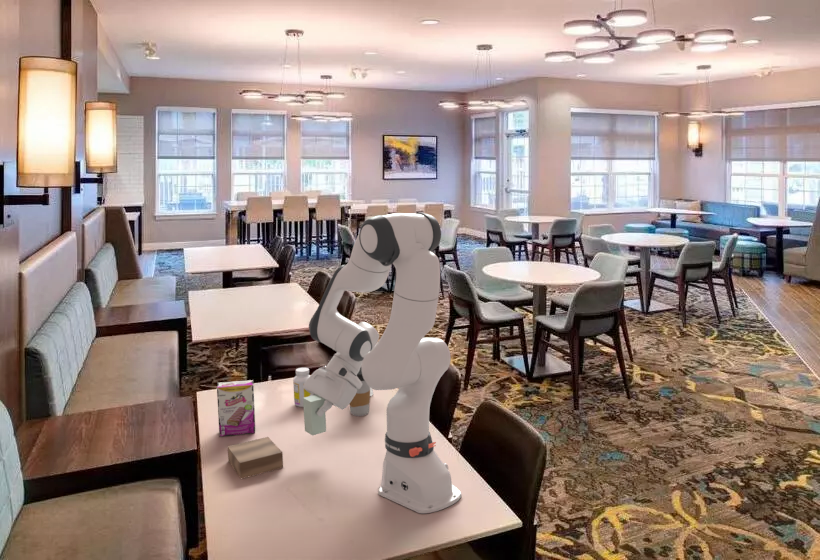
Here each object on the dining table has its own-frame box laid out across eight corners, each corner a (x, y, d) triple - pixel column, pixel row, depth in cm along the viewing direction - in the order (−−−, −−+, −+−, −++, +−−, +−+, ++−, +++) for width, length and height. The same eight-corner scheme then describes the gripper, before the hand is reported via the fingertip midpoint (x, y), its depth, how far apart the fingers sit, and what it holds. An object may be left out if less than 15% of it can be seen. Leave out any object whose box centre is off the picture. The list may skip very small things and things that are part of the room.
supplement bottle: (315, 401, 228) (314, 366, 226) (310, 408, 222) (309, 372, 219) (297, 400, 229) (295, 366, 226) (292, 407, 222) (290, 372, 220)
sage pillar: (326, 431, 183) (324, 398, 181) (312, 435, 180) (310, 402, 179) (318, 426, 186) (316, 394, 185) (304, 430, 184) (303, 397, 182)
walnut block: (283, 468, 178) (282, 452, 178) (241, 480, 172) (240, 462, 171) (268, 452, 188) (268, 436, 188) (228, 462, 182) (227, 446, 181)
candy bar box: (219, 437, 198) (216, 387, 195) (220, 431, 203) (216, 382, 200) (256, 433, 201) (253, 384, 198) (255, 427, 206) (253, 379, 203)
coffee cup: (376, 412, 217) (376, 370, 214) (357, 419, 211) (356, 376, 208) (361, 406, 223) (360, 365, 220) (342, 412, 217) (341, 370, 214)
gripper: (315, 359, 193) (288, 397, 188) (352, 374, 177) (323, 416, 172) (329, 370, 196) (302, 408, 192) (366, 386, 180) (338, 427, 176)
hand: (312, 412), depth 182 cm, fingers closed on sage pillar, 4 cm apart
